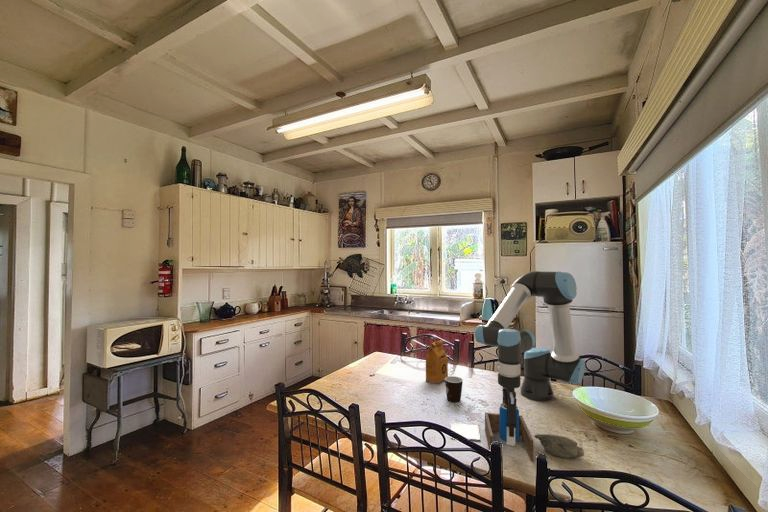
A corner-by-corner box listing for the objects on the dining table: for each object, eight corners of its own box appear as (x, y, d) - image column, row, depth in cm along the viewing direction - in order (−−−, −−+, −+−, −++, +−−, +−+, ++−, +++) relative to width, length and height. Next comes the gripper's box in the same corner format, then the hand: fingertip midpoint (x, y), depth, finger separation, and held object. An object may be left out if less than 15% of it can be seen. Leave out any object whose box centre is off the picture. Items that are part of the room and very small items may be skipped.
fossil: (569, 475, 110) (586, 456, 114) (566, 452, 106) (584, 433, 110) (531, 447, 122) (548, 430, 126) (528, 426, 118) (545, 410, 122)
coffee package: (450, 380, 186) (450, 341, 186) (437, 385, 177) (437, 344, 177) (436, 375, 193) (436, 337, 193) (423, 381, 184) (423, 341, 185)
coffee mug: (463, 404, 154) (463, 383, 154) (444, 403, 156) (444, 381, 156) (462, 394, 166) (462, 374, 166) (444, 393, 167) (444, 373, 167)
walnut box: (522, 433, 129) (522, 415, 129) (533, 461, 111) (533, 440, 111) (484, 429, 131) (484, 412, 131) (490, 456, 114) (490, 436, 114)
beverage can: (503, 433, 121) (503, 400, 121) (521, 439, 117) (521, 405, 117) (496, 441, 116) (496, 406, 116) (515, 447, 112) (515, 412, 112)
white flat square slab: (478, 426, 134) (478, 425, 134) (480, 441, 123) (480, 439, 123) (450, 424, 136) (450, 422, 136) (450, 438, 125) (450, 436, 125)
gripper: (494, 364, 127) (494, 424, 127) (501, 383, 108) (502, 453, 108) (515, 365, 125) (515, 426, 125) (526, 384, 106) (526, 456, 106)
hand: (509, 438), depth 116 cm, fingers closed on beverage can, 6 cm apart
